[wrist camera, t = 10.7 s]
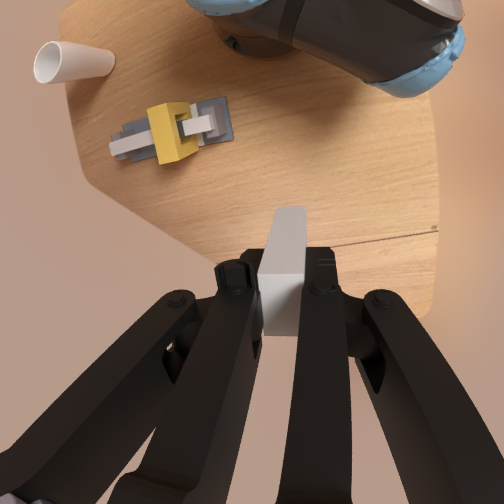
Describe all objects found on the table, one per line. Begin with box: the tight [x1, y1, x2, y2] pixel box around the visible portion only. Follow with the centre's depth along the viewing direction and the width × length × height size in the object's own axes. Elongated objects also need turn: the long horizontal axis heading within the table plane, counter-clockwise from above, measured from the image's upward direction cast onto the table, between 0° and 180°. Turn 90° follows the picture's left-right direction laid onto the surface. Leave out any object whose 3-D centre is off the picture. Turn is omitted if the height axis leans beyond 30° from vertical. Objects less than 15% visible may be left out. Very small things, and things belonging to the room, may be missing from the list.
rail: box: [109, 97, 234, 162], centre depth 42 cm, size 7×19×7 cm, turn 100°
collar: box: [147, 101, 199, 164], centre depth 40 cm, size 8×3×8 cm, turn 10°
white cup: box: [34, 41, 115, 84], centre depth 34 cm, size 7×7×15 cm
